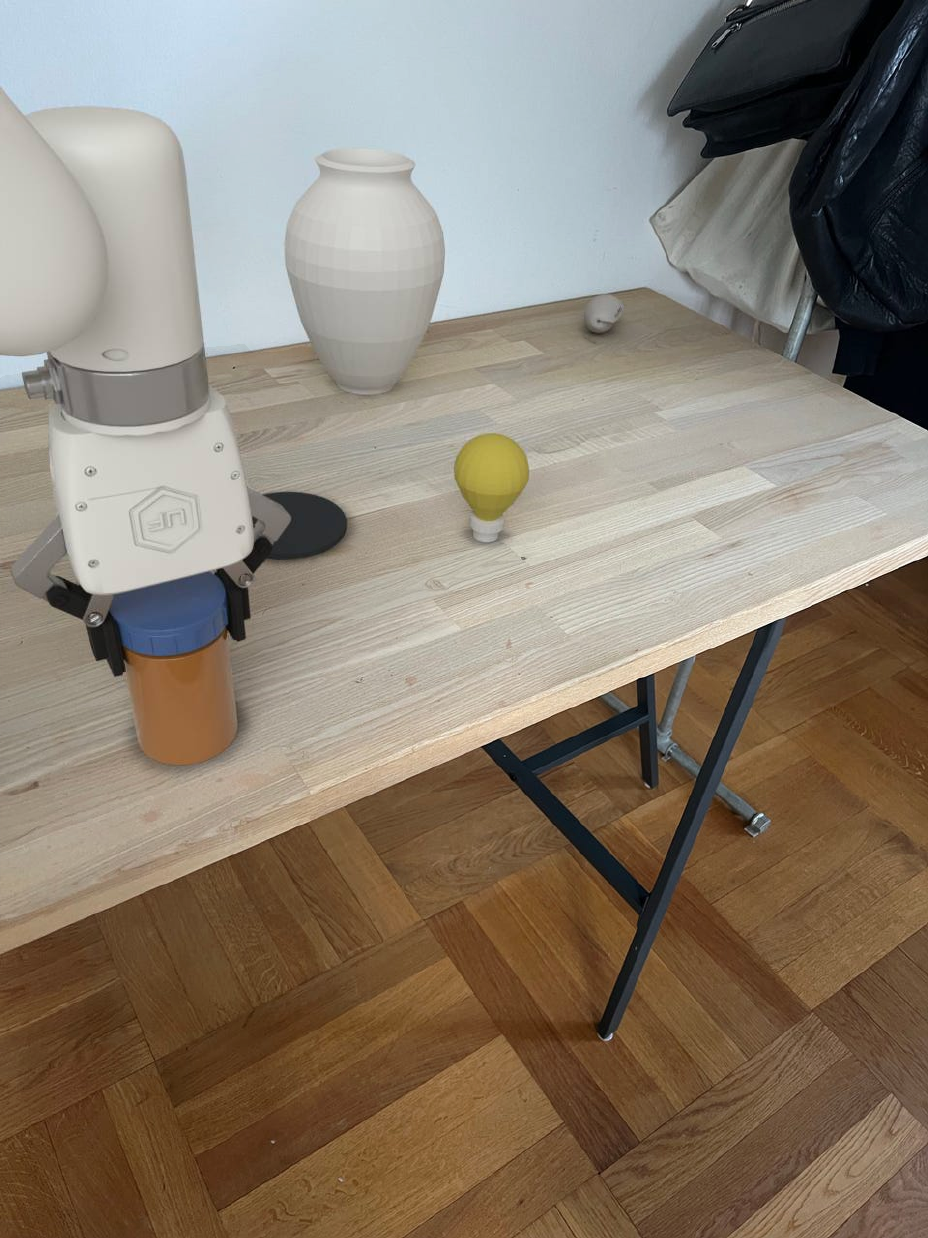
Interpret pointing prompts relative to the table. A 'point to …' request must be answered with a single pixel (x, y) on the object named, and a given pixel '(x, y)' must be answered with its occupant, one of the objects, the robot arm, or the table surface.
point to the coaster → (307, 525)
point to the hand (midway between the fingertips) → (174, 644)
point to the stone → (602, 313)
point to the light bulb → (490, 481)
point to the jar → (183, 702)
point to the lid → (171, 615)
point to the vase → (364, 266)
